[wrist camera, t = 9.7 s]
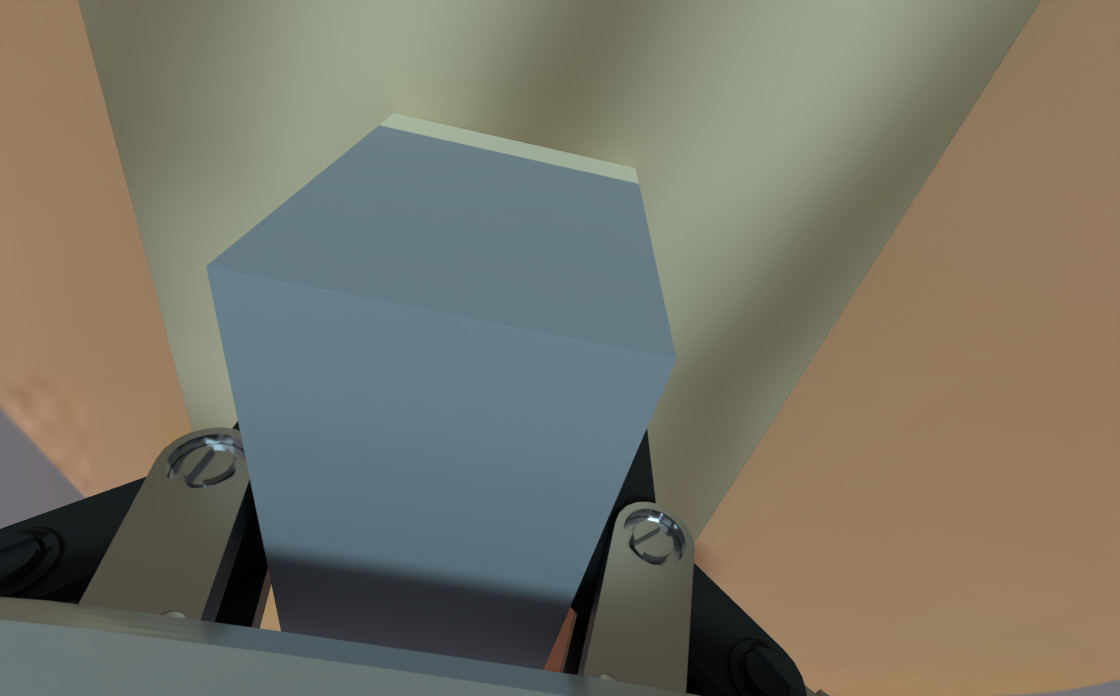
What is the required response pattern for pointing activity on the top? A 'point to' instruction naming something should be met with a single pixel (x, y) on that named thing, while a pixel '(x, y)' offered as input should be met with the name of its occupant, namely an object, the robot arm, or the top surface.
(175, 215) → the board
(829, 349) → the top surface
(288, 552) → the block
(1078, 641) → the top surface
